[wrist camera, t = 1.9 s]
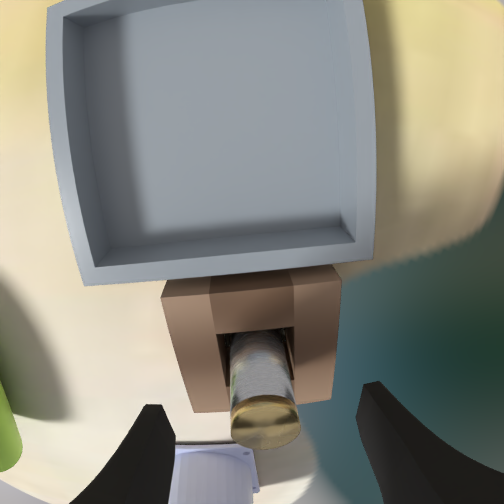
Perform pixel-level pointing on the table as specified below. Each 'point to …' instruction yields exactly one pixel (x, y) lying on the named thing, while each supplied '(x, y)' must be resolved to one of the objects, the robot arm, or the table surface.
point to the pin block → (254, 328)
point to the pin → (261, 391)
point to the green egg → (8, 435)
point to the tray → (211, 135)
